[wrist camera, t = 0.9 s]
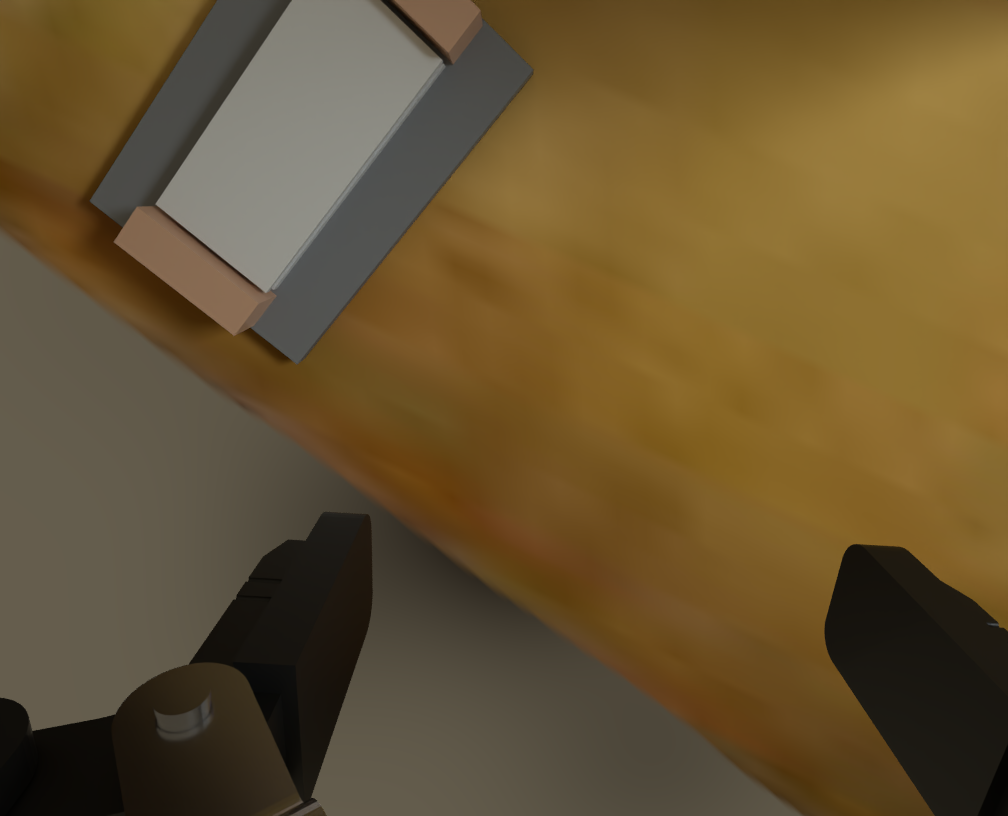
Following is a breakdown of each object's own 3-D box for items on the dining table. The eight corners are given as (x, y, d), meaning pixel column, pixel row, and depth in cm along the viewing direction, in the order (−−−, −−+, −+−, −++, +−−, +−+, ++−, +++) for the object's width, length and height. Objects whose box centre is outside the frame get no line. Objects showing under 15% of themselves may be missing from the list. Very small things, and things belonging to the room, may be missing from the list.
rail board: (321, -137, 26) (294, -186, 23) (532, 74, 29) (535, 58, 25) (105, 201, 31) (54, 201, 27) (304, 358, 33) (281, 377, 30)
